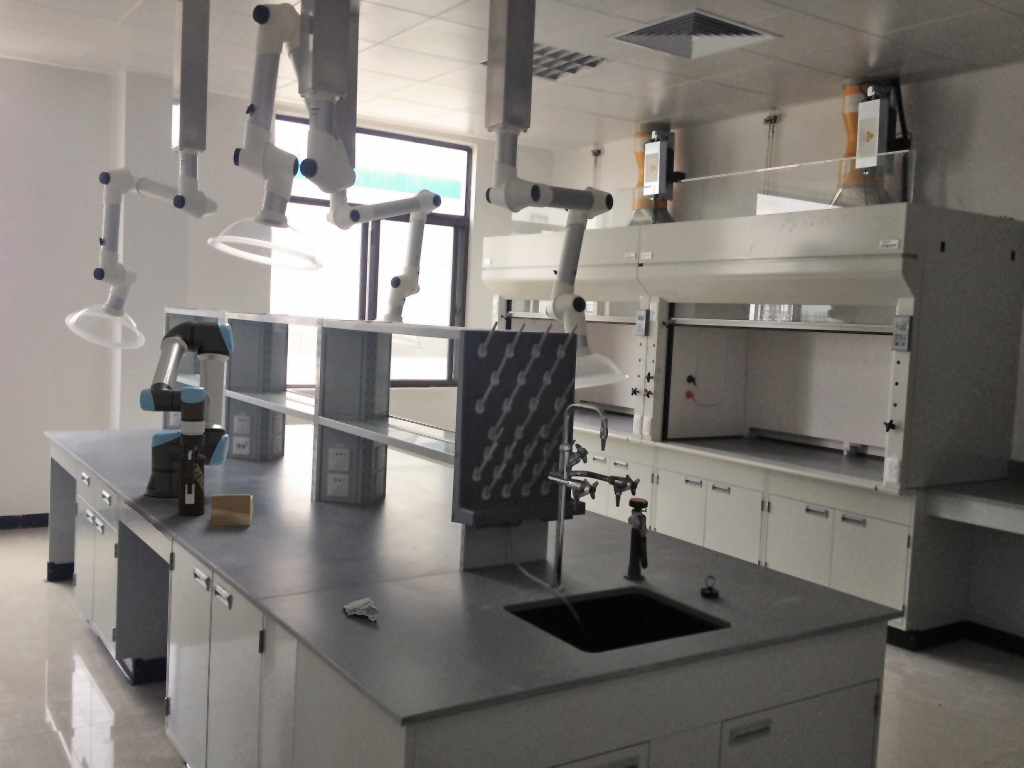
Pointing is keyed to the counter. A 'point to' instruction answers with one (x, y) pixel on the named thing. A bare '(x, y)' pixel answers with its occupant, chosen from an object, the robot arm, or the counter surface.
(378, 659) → the counter surface
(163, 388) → the robot arm
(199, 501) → the container
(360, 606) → the stone
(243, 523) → the stand
